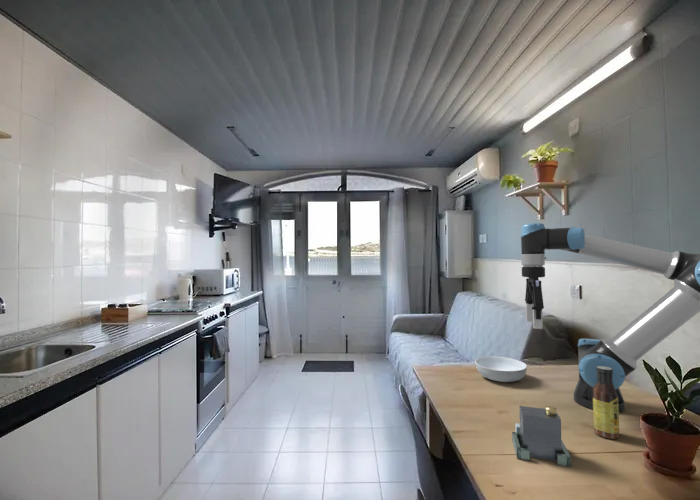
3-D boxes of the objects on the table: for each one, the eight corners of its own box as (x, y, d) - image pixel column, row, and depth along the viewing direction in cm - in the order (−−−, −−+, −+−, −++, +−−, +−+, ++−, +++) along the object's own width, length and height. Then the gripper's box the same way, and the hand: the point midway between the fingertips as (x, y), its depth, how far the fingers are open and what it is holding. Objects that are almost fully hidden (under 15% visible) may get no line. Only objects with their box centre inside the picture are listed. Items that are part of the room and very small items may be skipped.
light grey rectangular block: (541, 440, 101) (541, 426, 102) (543, 444, 99) (543, 430, 99) (515, 436, 104) (515, 423, 104) (516, 440, 101) (516, 426, 101)
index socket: (561, 447, 98) (560, 438, 98) (571, 467, 88) (571, 457, 89) (512, 440, 101) (512, 431, 101) (517, 458, 92) (517, 449, 92)
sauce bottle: (620, 442, 100) (619, 372, 100) (594, 436, 103) (592, 369, 104) (617, 432, 106) (616, 366, 106) (592, 427, 109) (591, 363, 109)
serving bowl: (471, 370, 165) (470, 355, 165) (517, 371, 162) (517, 357, 162) (481, 386, 144) (481, 369, 144) (535, 388, 141) (534, 371, 141)
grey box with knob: (523, 456, 94) (522, 408, 94) (520, 444, 99) (519, 400, 99) (561, 462, 91) (560, 413, 91) (555, 450, 96) (555, 404, 97)
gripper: (553, 267, 114) (554, 332, 113) (537, 265, 137) (538, 319, 137) (527, 267, 116) (528, 331, 115) (516, 265, 140) (517, 318, 139)
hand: (534, 324), depth 126 cm, fingers open, 13 cm apart
